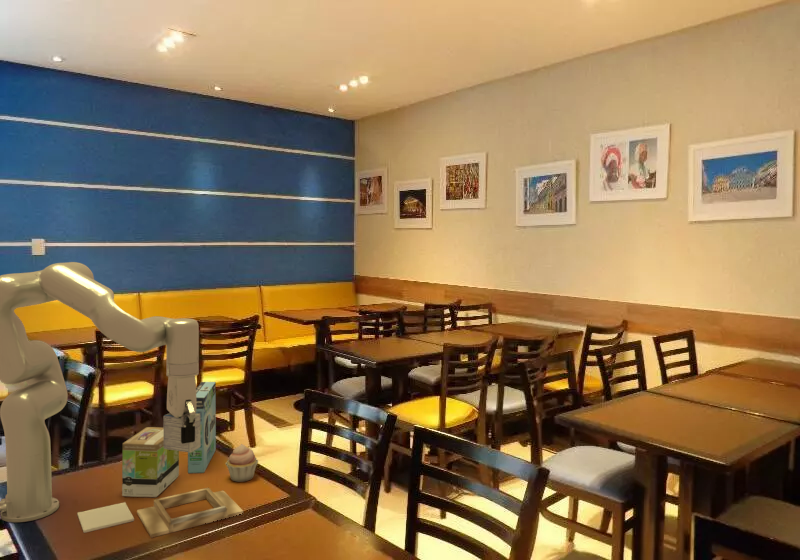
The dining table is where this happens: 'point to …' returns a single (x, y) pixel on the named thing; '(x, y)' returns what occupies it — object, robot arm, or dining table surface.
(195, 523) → the beige rectangular frame piece
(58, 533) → the dining table surface
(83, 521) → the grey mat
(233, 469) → the cupcake
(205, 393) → the gum box
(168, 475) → the tea box
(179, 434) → the medicine box
